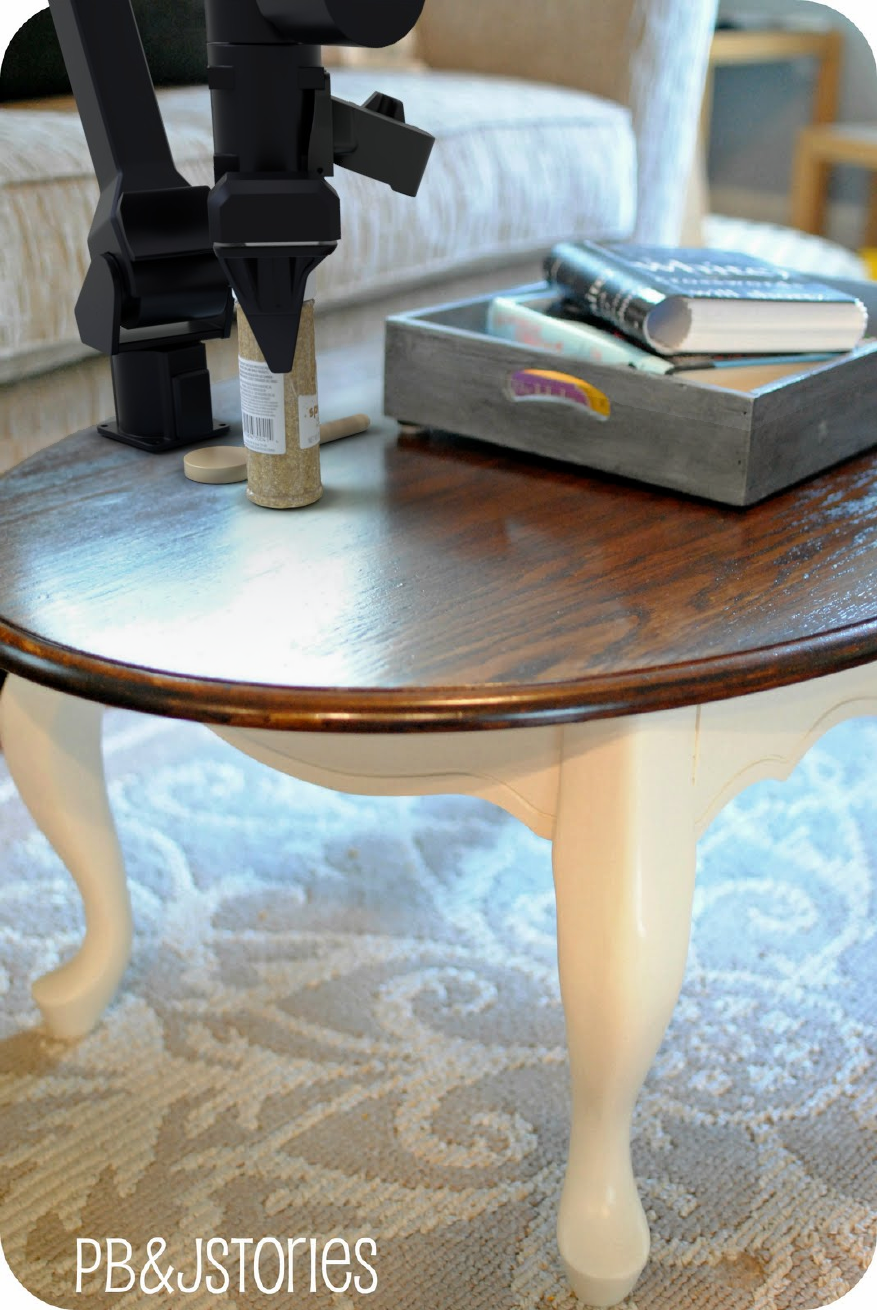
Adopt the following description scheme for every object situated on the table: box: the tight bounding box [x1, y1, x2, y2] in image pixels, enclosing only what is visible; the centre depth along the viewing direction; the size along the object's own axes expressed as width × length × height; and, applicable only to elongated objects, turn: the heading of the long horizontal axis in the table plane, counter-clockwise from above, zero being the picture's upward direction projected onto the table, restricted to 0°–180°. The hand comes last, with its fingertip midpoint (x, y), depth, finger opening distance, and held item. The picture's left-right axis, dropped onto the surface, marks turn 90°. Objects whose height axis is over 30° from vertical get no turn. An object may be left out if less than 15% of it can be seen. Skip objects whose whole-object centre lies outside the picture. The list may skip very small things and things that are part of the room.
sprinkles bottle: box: [232, 268, 324, 509], centre depth 76 cm, size 5×5×14 cm
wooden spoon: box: [183, 413, 371, 485], centre depth 87 cm, size 15×4×1 cm, turn 137°
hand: (279, 352), depth 75 cm, fingers open, 9 cm apart
